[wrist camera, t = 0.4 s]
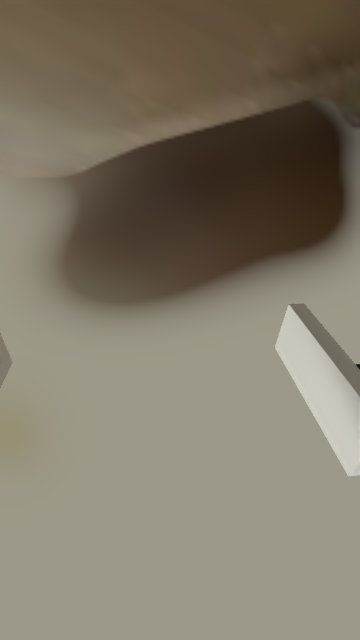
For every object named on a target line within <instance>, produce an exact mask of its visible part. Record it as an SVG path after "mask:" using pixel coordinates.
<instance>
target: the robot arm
mask: <svg viewBox="0 0 360 640" xmlns="http://www.w3.org/2000/svg"><path fill="white" fill-rule="evenodd" d="M275 348H276V350H277V352H278V354H279V355H280V357H281V359H282V360H283V362H284V364H285V366H286V368H287V369H288V371H289V373H290V375H291V376H292V378H293V380H294V382H295V383H296V385H297V387H298V389H299V390H300V392H301V394H302V395H303V397H304V399H305V401H306V403H307V404H308V406H309V408H310V410H311V411H312V413H313V415H314V417H315V418H316V420H317V422H318V424H319V425H320V427H321V429H322V431H323V432H324V434H325V436H326V438H327V439H328V441H329V443H330V445H331V446H332V448H333V450H334V452H335V453H336V455H337V457H338V459H339V460H340V462H341V464H342V466H343V467H344V469H345V471H346V472H347V474H348V476H356V475H360V364H354V363H353V361H352V360H351V359H350V358H349V356H348V355H347V354H346V353H345V352H344V350H342V348H341V347H340V346H339V345H338V343H337V342H336V341H335V340H334V339H333V338H332V336H331V335H330V334H329V333H328V332H327V330H326V329H325V328H324V327H323V326H322V324H321V323H320V322H319V321H318V320H317V319H316V317H315V316H314V315H313V314H312V313H311V311H310V310H309V309H308V308H307V307H306V305H305V304H289V306H288V309H287V312H286V315H285V318H284V321H283V324H282V327H281V330H280V333H279V336H278V340H277V343H276V346H275ZM11 364H12V359H11V357H10V355H9V353H8V350H7V348H6V346H5V343H4V341H3V339H2V337H1V334H0V387H1V385H2V383H3V381H4V379H5V377H6V375H7V373H8V371H9V368H10V366H11Z"/></svg>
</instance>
